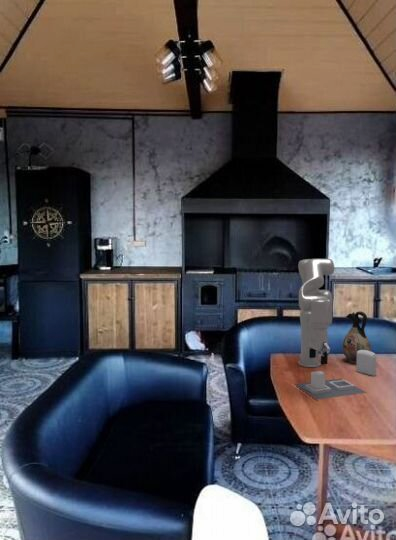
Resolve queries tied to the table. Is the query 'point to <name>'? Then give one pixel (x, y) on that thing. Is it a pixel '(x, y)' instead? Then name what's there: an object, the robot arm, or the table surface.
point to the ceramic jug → (355, 337)
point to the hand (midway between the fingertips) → (318, 360)
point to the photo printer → (366, 362)
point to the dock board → (331, 389)
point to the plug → (318, 380)
